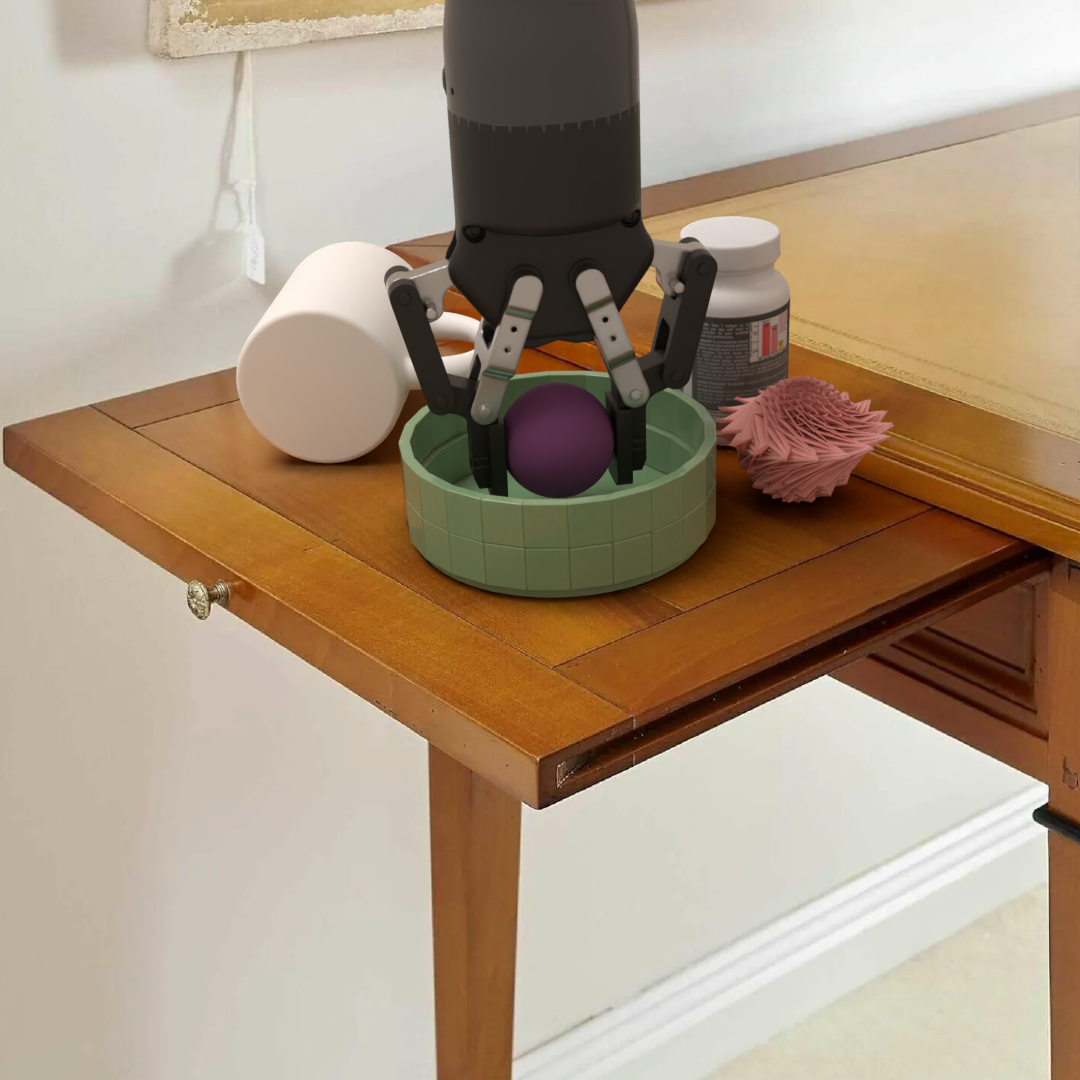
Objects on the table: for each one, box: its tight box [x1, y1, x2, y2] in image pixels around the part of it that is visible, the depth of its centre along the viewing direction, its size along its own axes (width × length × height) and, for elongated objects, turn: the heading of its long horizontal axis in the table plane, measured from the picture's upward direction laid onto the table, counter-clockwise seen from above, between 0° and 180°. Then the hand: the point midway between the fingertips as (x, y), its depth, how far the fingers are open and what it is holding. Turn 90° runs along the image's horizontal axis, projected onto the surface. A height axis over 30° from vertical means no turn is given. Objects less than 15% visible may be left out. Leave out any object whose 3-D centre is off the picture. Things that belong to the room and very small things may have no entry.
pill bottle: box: [677, 215, 791, 447], centre depth 78 cm, size 6×6×10 cm
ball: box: [503, 382, 615, 498], centre depth 70 cm, size 5×5×5 cm
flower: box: [713, 375, 895, 504], centre depth 73 cm, size 8×8×6 cm
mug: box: [235, 241, 481, 464], centre depth 81 cm, size 12×10×8 cm
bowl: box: [398, 370, 717, 599], centre depth 71 cm, size 14×14×4 cm
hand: (559, 482), depth 71 cm, fingers closed on ball, 5 cm apart
